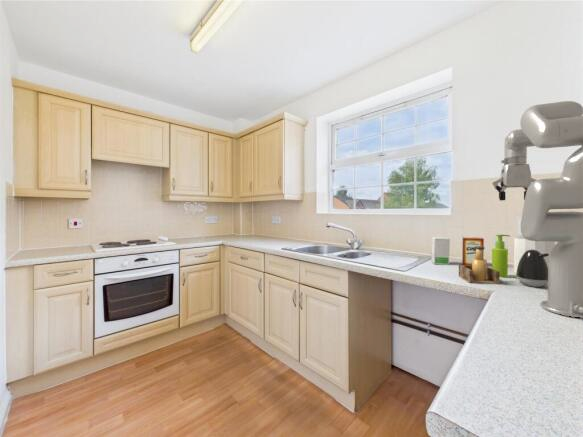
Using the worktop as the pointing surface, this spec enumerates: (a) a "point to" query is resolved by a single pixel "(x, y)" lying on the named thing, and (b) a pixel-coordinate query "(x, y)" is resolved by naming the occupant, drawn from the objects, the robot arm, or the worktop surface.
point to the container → (530, 248)
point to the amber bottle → (479, 265)
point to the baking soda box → (470, 249)
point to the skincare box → (440, 250)
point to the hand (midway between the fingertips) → (514, 200)
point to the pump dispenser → (533, 269)
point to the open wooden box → (467, 275)
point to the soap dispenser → (500, 257)
